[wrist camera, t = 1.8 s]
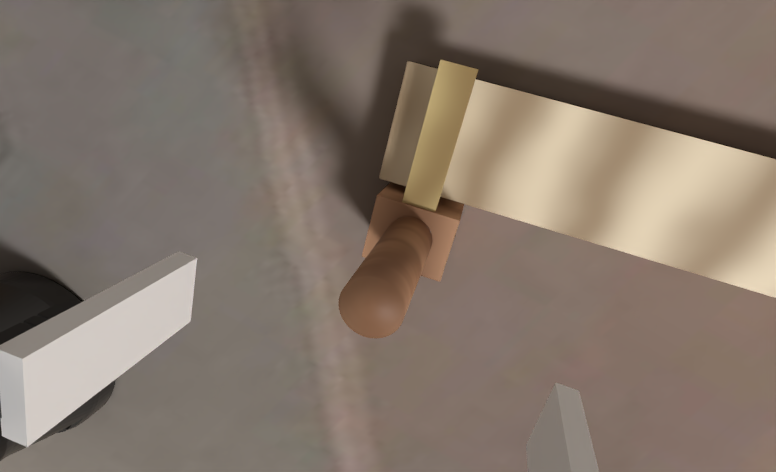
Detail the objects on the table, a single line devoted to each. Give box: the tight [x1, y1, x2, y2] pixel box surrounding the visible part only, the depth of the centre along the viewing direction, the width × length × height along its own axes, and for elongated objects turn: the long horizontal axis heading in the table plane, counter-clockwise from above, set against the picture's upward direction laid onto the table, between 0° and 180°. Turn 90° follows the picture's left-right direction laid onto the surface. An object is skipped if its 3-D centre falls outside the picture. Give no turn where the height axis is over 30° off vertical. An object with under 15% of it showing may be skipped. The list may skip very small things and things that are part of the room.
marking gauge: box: [339, 60, 478, 338], centre depth 24 cm, size 5×12×13 cm, turn 166°
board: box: [379, 61, 776, 298], centre depth 27 cm, size 24×7×2 cm, turn 76°
